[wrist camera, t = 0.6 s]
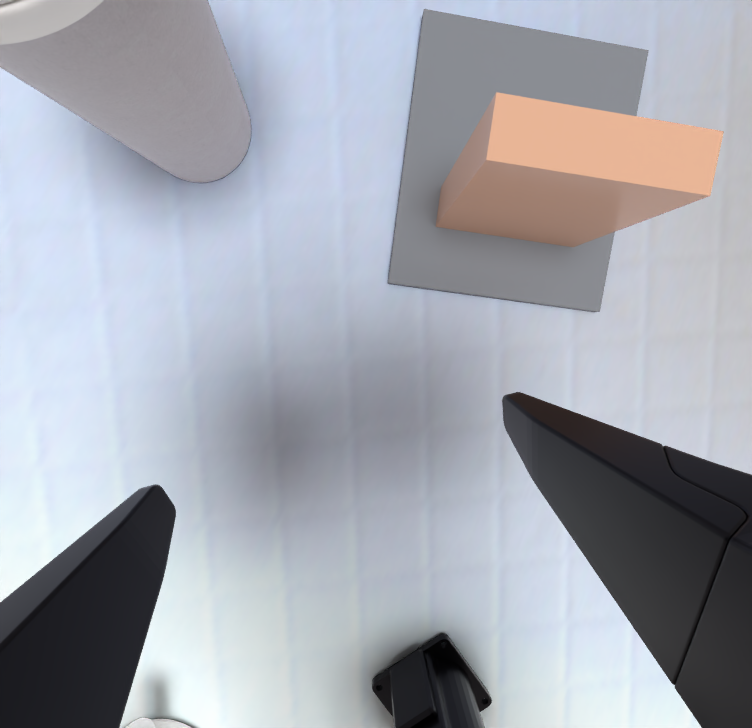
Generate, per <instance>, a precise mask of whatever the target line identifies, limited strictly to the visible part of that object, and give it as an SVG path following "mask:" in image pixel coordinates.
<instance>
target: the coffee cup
mask: <svg viewBox="0 0 752 728" xmlns="http://www.w3.org/2000/svg"><path fill="white" fill-rule="evenodd" d="M0 67H1V68H2V69H4V70H5V71H7V72H9V73H10V74H12V75H14V76H15V77H17V78H18V79H20V80H22V81H23V82H25V83H26V84H28V85H30V86H31V87H33V88H34V89H36V90H38V91H39V92H41V93H42V94H44V95H46V96H47V97H49V98H50V99H52V100H54V101H55V102H57V103H58V104H60V105H62V106H63V107H65V108H66V109H68V110H70V111H71V112H73V113H74V114H76V115H78V116H79V117H81V118H82V119H84V120H86V121H87V122H89V123H90V124H92V125H94V126H95V127H97V128H98V129H100V130H102V131H103V132H105V133H106V134H108V135H110V136H111V137H113V138H114V139H116V140H117V141H119V142H121V143H122V144H124V145H125V146H127V147H129V148H130V149H132V150H133V151H135V152H137V153H138V154H140V155H141V156H143V157H145V158H146V159H148V160H149V161H151V162H152V163H154V164H156V165H157V166H159V167H160V168H162V169H164V170H165V171H167V172H168V173H170V174H172V175H174V176H175V177H178V178H180V179H182V180H186V181H190V182H197V183H204V182H211V181H215V180H218V179H221V178H223V177H225V176H227V175H228V174H230V173H231V172H232V171H233V170H235V169H236V168H237V166H238V165H239V164H240V163H241V162H242V160H243V158H244V157H245V155H246V153H247V150H248V148H249V144H250V139H251V120H250V116H249V112H248V109H247V106H246V103H245V100H244V98H243V95H242V92H241V90H240V87H239V84H238V81H237V79H236V76H235V73H234V70H233V68H232V65H231V62H230V60H229V57H228V54H227V51H226V49H225V46H224V43H223V40H222V38H221V35H220V32H219V30H218V27H217V24H216V21H215V19H214V16H213V13H212V10H211V8H210V5H209V2H208V0H0Z"/></svg>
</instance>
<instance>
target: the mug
mask: <svg viewBox="0 0 752 728" xmlns="http://www.w3.org/2000/svg"><path fill="white" fill-rule="evenodd" d="M126 728H191V727H190V726H188V725H186V724H184V723H181V722H178V721H175V720H170V719H151V720H150V719H148V718H139V719H137V720H135V721H133V722H132V723H130V724H129V725H128V726H127V727H126Z"/></svg>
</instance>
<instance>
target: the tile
mask: <svg viewBox="0 0 752 728" xmlns="http://www.w3.org/2000/svg"><path fill="white" fill-rule="evenodd" d="M723 132H724V131H718V130H712V129H707V128H701V127H695V126H689V125H684V124H678V123H672V122H666V121H660V120H655V119H649V118H643V117H637V116H631V115H626V114H620V113H614V112H608V111H602V110H597V109H591V108H585V107H579V106H573V105H568V104H562V103H556V102H550V101H544V100H539V99H533V98H527V97H521V96H515V95H510V94H504V93H498V92H496V94H495V96H494V97H493V99H492V101H491V102H490V104H489V106H488V108H487V109H486V111H485V113H484V114H483V116H482V118H481V120H480V121H479V123H478V125H477V126H476V128H475V130H474V132H473V133H472V135H471V137H470V138H469V140H468V142H467V144H466V145H465V147H464V149H463V150H462V152H461V154H460V156H459V157H458V159H457V161H456V163H455V164H454V166H453V168H452V169H451V171H450V173H449V175H448V176H447V178H446V180H445V181H444V183H443V185H442V187H441V192H440V199H439V206H438V213H437V220H436V227H440V228H447V229H453V230H460V231H467V232H474V233H480V234H487V235H494V236H501V237H507V238H514V239H521V240H527V241H534V242H541V243H548V244H554V245H561V246H568V247H575V246H578V245H581V244H583V243H586V242H589V241H591V240H594V239H597V238H599V237H602V236H605V235H607V234H610V233H613V232H615V231H618V230H621V229H623V228H626V227H629V226H631V225H634V224H637V223H639V222H642V221H645V220H647V219H650V218H652V217H655V216H658V215H660V214H663V213H666V212H668V211H671V210H674V209H676V208H679V207H682V206H684V205H687V204H690V203H692V202H695V201H698V200H700V199H703V198H706V197H708V196H710V194H711V189H712V185H713V180H714V175H715V170H716V166H717V161H718V156H719V151H720V147H721V142H722V137H723Z"/></svg>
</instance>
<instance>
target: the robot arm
mask: <svg viewBox="0 0 752 728" xmlns="http://www.w3.org/2000/svg"><path fill="white" fill-rule="evenodd" d="M502 404H503V421H504V426H505V429H506V431H507V433H508V435H509V437H510V438H511V440H512V442H513V444H514V446H515V448H516V450H517V452H518V454H519V455H520V457H521V459H522V461H523V463H524V465H525V467H526V469H527V471H528V472H529V474H530V476H531V478H532V479H533V481H534V483H535V484H536V486H537V487H538V489H539V490H540V492H541V493H542V495H543V496H544V497H545V499H546V500H547V502H548V503H549V505H550V506H551V508H552V509H553V511H554V512H555V513H556V515H557V516H558V518H559V519H560V521H561V522H562V524H563V525H564V527H565V528H566V530H567V531H568V532H569V534H570V535H571V537H572V538H573V540H574V541H575V543H576V544H577V546H578V547H579V548H580V550H581V551H582V553H583V554H584V556H585V557H586V559H587V560H588V562H589V563H590V565H591V566H592V567H593V569H594V570H595V572H596V573H597V575H598V576H599V578H600V579H601V581H602V582H603V584H604V585H605V586H606V588H607V589H608V591H609V592H610V594H611V595H612V597H613V598H614V600H615V601H616V602H617V604H618V605H619V607H620V608H621V610H622V611H623V613H624V614H625V616H626V617H627V619H628V620H629V621H630V623H631V624H632V626H633V627H634V629H635V630H636V632H637V633H638V635H639V636H640V637H641V639H642V640H643V642H644V643H645V645H646V646H647V648H648V649H649V651H650V652H651V654H652V655H653V656H654V658H655V659H656V661H657V662H658V664H659V665H660V667H661V668H662V670H663V671H664V673H665V674H666V675H667V677H668V678H669V680H670V681H671V683H672V684H674V685H675V689H676V690H677V692H678V693H679V695H680V696H681V698H682V699H683V701H684V702H685V704H686V705H687V707H688V708H689V709H690V711H691V712H692V714H693V715H694V717H695V718H696V720H697V721H698V723H699V724H700V725H701V727H702V728H752V475H750V474H747V473H744V472H741V471H738V470H735V469H732V468H728V467H725V466H722V465H719V464H716V463H713V462H710V461H707V460H705V459H702V458H699V457H696V456H693V455H690V454H687V453H685V452H682V451H679V450H676V449H674V448H671V447H668V446H662V444H660V443H657V442H654V441H652V440H649V439H646V438H643V437H641V436H638V435H635V434H632V433H630V432H627V431H624V430H622V429H619V428H616V427H613V426H611V425H608V424H605V423H602V422H600V421H597V420H594V419H592V418H589V417H586V416H583V415H581V414H578V413H575V412H572V411H570V410H567V409H564V408H562V407H559V406H556V405H553V404H551V403H548V402H545V401H542V400H540V399H537V398H534V397H532V396H529V395H526V394H523V393H520V392H516V393H512V394H508V395H505V396H504V397H503V400H502ZM175 517H176V510H175V506H174V505H173V503H172V502H171V500H170V499H169V497H168V496H167V494H166V493H165V491H164V490H163V488H162V487H161V486H159V485H152V486H148V487H144V488H141V489H139V490H138V491H136V492H135V493H134V494H133V495H131V496H130V497H129V498H128V499H127V500H125V501H124V502H123V503H122V504H120V505H119V506H118V507H117V508H116V509H114V510H113V511H112V512H111V513H109V514H108V515H107V516H106V517H105V518H103V519H102V520H101V521H100V522H98V523H97V524H96V525H95V526H94V527H92V528H91V529H90V530H89V531H87V532H86V533H85V534H84V535H82V536H81V537H80V538H79V539H78V540H76V541H75V542H74V543H73V544H71V545H70V546H69V547H68V548H67V549H65V550H64V551H63V552H62V553H60V554H59V555H58V556H57V557H56V558H54V559H53V560H52V561H51V562H49V563H48V564H47V565H46V566H45V567H43V568H42V569H41V570H40V571H38V572H37V573H36V574H35V575H34V576H32V577H31V578H30V579H29V580H27V581H26V582H25V583H24V584H23V585H21V586H20V587H19V588H18V589H16V590H15V591H14V592H13V593H11V594H10V595H9V596H8V597H7V598H5V599H4V600H3V601H2V602H0V728H119V727H120V723H121V720H122V717H123V713H124V710H125V706H126V703H127V700H128V696H129V693H130V690H131V686H132V683H133V679H134V676H135V673H136V669H137V666H138V663H139V659H140V656H141V652H142V649H143V646H144V642H145V639H146V636H147V632H148V629H149V625H150V622H151V619H152V615H153V612H154V609H155V605H156V602H157V598H158V595H159V592H160V588H161V585H162V581H163V577H164V573H165V569H166V564H167V559H168V554H169V549H170V543H171V538H172V533H173V528H174V522H175ZM443 642H445V643H444V644H441V643H443ZM372 689H373V692H374V693H375V694H376V695H377V697H378V698H379V699H380V701H381V702H382V703H383V705H384V706H385V707H386V708H387V710H388V711H389V712H390V714H391V715H392V716H393V720H394V728H485V727H484V724H483V721H482V718H481V715H480V712H481V711H482V710H484V709H485V708H487V707H488V706H490V704H491V701H492V700H491V697H490V694H489V692H488V691H487V689H486V688H485V687H484V685H483V684H482V682H481V681H480V680H479V678H478V677H477V675H476V674H475V673H474V671H473V670H472V669H471V667H470V666H469V664H468V663H467V662H466V660H465V659H464V658H463V656H462V655H461V653H460V652H459V651H458V649H457V648H456V646H455V645H454V644H453V642H452V641H451V640H450V638H449V637H448V636H447V635H445V634H441V635H439V636H437V637H436V638H434V639H433V640H431V641H430V642H428V643H427V644H425V645H423V646H422V647H420V648H419V649H417V650H416V651H414V652H413V653H411V654H410V655H408V656H407V657H405V658H404V659H402V660H401V661H399V662H398V663H396V664H394V665H393V666H391V667H390V668H388V669H387V670H385V671H384V672H382V673H381V674H379V675H378V676H376V677H375V678H374V679H373V681H372ZM484 698H485V699H484Z"/></svg>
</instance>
